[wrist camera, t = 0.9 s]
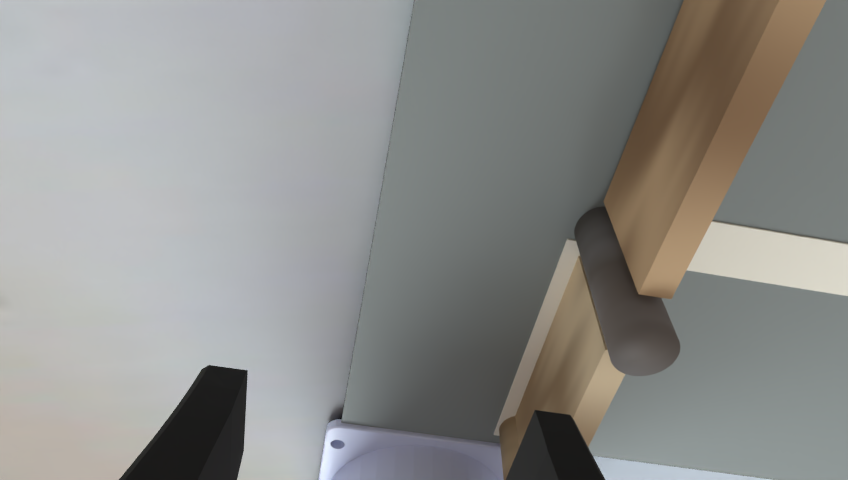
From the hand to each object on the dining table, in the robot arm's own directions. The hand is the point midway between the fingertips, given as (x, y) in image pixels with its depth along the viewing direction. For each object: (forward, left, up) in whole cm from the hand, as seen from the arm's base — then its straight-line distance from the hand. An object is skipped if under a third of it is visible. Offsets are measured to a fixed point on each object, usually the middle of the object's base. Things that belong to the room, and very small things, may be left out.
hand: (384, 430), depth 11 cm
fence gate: (+5, -6, -9) cm, 12 cm away
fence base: (-5, -6, -9) cm, 12 cm away
